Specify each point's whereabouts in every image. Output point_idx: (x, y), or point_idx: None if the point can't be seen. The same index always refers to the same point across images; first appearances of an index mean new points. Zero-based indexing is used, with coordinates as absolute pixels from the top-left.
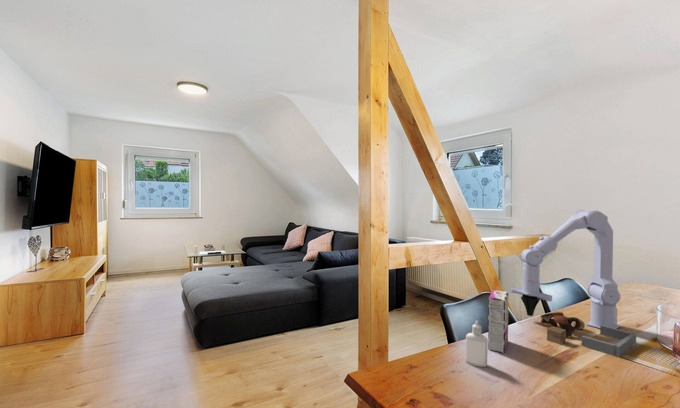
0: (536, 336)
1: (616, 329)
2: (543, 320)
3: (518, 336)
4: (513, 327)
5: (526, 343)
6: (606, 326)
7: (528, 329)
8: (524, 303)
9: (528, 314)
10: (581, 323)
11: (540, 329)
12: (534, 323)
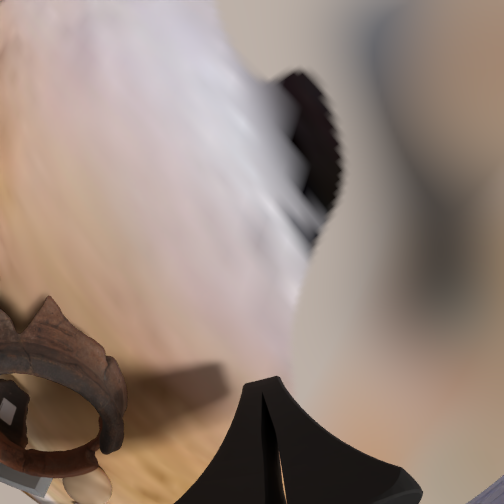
0: (19, 132)
1: (9, 482)
2: (92, 368)
3: (70, 17)
4: (194, 88)
5: (14, 16)
6: (31, 493)
7: (114, 182)
8: (328, 445)
9: (265, 383)
10: (63, 482)
11: (93, 285)
12: (212, 359)
